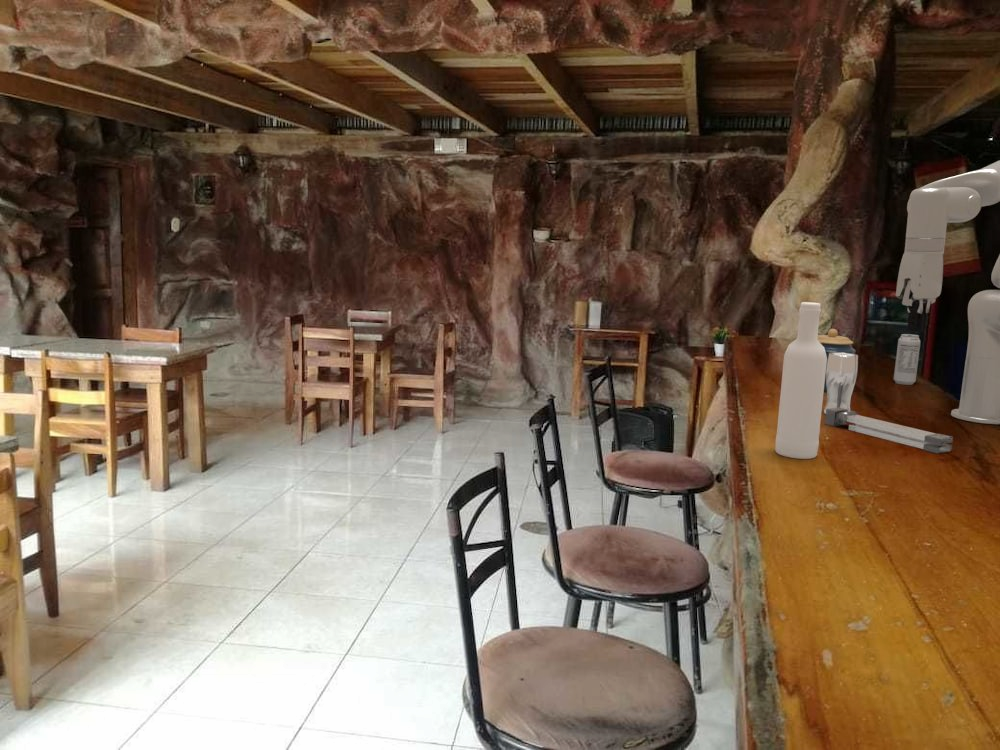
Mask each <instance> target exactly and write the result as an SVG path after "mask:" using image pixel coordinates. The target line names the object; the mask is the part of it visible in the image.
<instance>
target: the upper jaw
mask: <svg viewBox="0 0 1000 750" xmlns="http://www.w3.org/2000/svg"><path fill="white" fill-rule="evenodd" d="M836 419H837V421H838V422H839V423H845V422H846V423H851V424H859V425H863V426H867V427H871V428H875V429H879V430H883V431H887V432H891V433H895V434H899V435H903V436H907V437H911V438H915V439H919V440H923V441H924V442H928V443H932V444H936V445H942V444H951V443H953V441H954V436H952V435H946V434H942V433H935V432H930V431H927V430H922V429H918V428H915V427H910V426H906V425H901V424H898V423H894V422H889V421H886V420H885V421H884V420H881V419H878V418H877V419H876V418H873V417H868V416H864V415H860V414H858V412H856V411H855V410H850V411H848V412H840V413H838V414H837V415H836Z"/></svg>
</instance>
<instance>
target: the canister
mask: <svg viewBox="0 0 1000 750" xmlns="http://www.w3.org/2000/svg"><path fill="white" fill-rule="evenodd" d="M838 333H839V332H838V330H837V329H835V328H830V329H829V330H828V331H827V334H818V337H817V340H818V341H819V342H820V343H821V344H822V346H823V347H824V348H825V352H826V356H827V362H828V357H829V353H833V352H839V353H850V354H856V352H857V351H856V349H854V348H853V344H854V341H853V340H850V339H849V337H847V336H841V335H838ZM826 368H827V364H826ZM824 393H827V386H826V373H825V383H824Z"/></svg>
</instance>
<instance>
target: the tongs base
mask: <svg viewBox="0 0 1000 750" xmlns="http://www.w3.org/2000/svg"><path fill="white" fill-rule="evenodd" d="M840 412H848V409H843V408H839V407H838V408H830V409H826V414H825V419H824V424H825V425H827V426H832V427H837V426H839V427H840V426H845V425H847V422H845V423H839V422H838V421H837V419H836V415H837V414H838V413H840ZM848 431H852V432H856V433H860V434H864V435H867V436H872V437H875V438H879V439H882V440H887V441H890V442H894V443H898V444H902V445H906V446H909V447H913V448H917V449H921V450H923V451H927V452H929V453H933V454H934V453H935V454H942V453H947V452H951V451H952V449H953V448H952V447H953V445H952V444H949V443H947V444H942V445H936V444H932V443H928V442H924V441H923V440H919V439H915V438H911V437H907V436H903V435H899V434H895V433H891V432H887V431H883V430H879V429H875V428H871V427H867V426H863V425H859V424H855V423H851V424H848Z"/></svg>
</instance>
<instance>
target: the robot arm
mask: <svg viewBox="0 0 1000 750" xmlns="http://www.w3.org/2000/svg"><path fill="white" fill-rule="evenodd" d="M999 202H1000V160H997V161H995V162H993V163H990V164H988V165H987V166H984V167H982V168H980V169H976V170H972V171H968V172H964V173H962V174H958V175H955V176H953V175H952V176H950V177H947V178H943V179H942V178H941V179H939V180H936V181H933V182H931V183H928V184H925V185H923V186H921V187H919V188H915V189H913V190H912V191H911V193H910V195H909V198H908V201H907V205H906V211H907V223H906V231H905V232H906V233H905V243H904V245H905V246H904V253H903V255H902V258H901V260H900V261H901V262H900V266H899V271H898V276H897V281H896V289H895V290H896V291H895V296H896V298H898V299H902V301H901V304H902V305H903V306H906V307H907V313H908V318H907V319H908V320H907V327H906V328H907V331H909V332H911V331H912V332H918V333H919V332H920V333H921V332H925V331H926V329H927V327H926V326H927V319H928V313H930V307H931V305H932V304H934V303H936V299H937V298H938V297H940V295H941V293H942V289H943V288H942V286H943V278H944V277H943V275H944V253H945V245H946V244H945V243H946V237H947V235H946V234H947V225H948V223H952V224H953V223H957V224H958V223H966V222H968V221H971V220H972V219H974V218H976V216H978V214H979V213H980V211H981V209H982V207H986V206H987V207H988V206H992V205H995V204H997V203H999ZM991 282H992V284H993V286H995V287H996V288H998V289H985V290H982V291H979V292H977V293H975V294H974V295H973V296H972V297H971V298H970V300H969V301H968V305H967V321H968V340H967V349H966V356H965V362H964V370H963V377H962V384H961V391H960V392H961V393H960V397H959V398H960V400H959V406H958V408H954V409H952V410H951V413H950V416H952V417H953V418H955V419H959V420H962V421H966V422H971V423H977V424H978V423H979V424H986V425H1000V254H999V255H998V257H997V259H996V262H995V264H994V266H993V268H992V272H991Z"/></svg>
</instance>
